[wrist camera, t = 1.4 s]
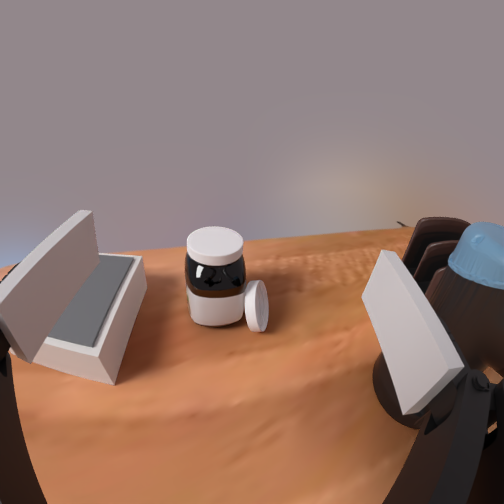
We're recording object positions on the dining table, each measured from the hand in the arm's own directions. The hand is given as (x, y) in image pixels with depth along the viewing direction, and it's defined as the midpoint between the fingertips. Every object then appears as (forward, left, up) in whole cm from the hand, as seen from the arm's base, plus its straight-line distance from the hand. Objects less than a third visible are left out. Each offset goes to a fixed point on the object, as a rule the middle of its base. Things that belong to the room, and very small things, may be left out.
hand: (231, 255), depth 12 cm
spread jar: (0, -18, -22) cm, 29 cm away
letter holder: (-44, -26, -23) cm, 56 cm away
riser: (+22, -13, -22) cm, 34 cm away
